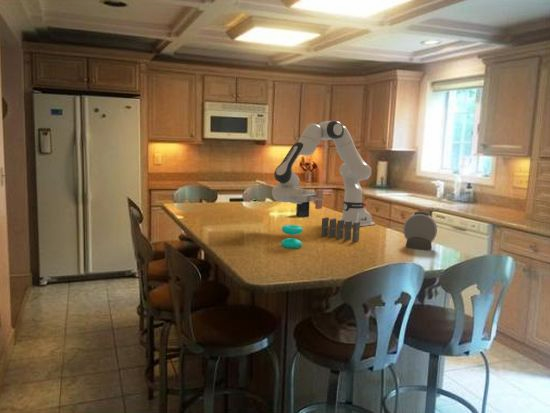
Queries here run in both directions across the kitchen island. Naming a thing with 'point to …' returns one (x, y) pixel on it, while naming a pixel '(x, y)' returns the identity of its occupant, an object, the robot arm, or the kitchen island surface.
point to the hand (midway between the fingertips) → (320, 198)
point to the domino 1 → (319, 203)
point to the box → (302, 209)
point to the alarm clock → (420, 231)
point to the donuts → (290, 241)
